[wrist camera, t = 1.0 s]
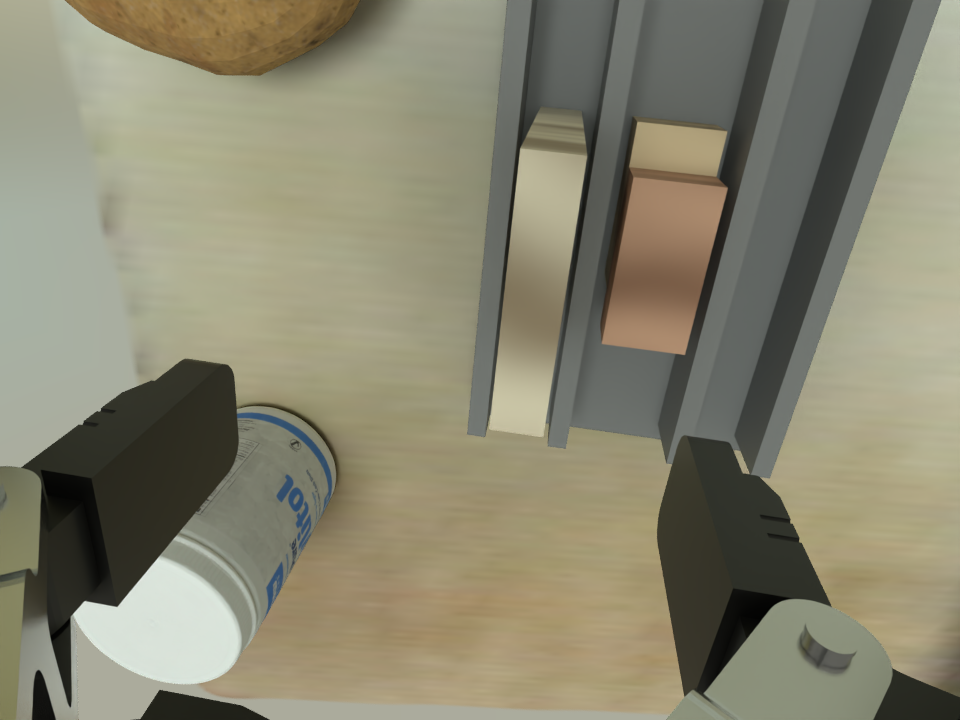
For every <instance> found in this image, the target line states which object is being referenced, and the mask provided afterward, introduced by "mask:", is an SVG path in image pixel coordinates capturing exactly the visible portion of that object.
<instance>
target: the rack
mask: <svg viewBox="0 0 960 720" xmlns="http://www.w3.org/2000/svg"><path fill="white" fill-rule="evenodd" d="M940 3H941V0H507V10H506V21H505V32H504V43H503V54H502V64H501V75H500V86H499V97H498V108H497V118H496V129H495V140H494V151H493V162H492V173H491V183H490V194H489V205H488V216H487V227H486V237H485V248H484V259H483V270H482V281H481V291H480V302H479V313H478V324H477V335H476V345H475V356H474V367H473V378H472V389H471V399H470V410H469V421H468V432H467V434H468V435H475V436H482V437H485V435H486V430H487V426H488V421H489V417H490V415H491V409H492V400H493V391H494V382H495V373H496V364H497V355H498V345H499V336H500V327H501V318H502V309H503V300H504V291H505V282H506V273H507V264H508V255H509V246H510V237H511V228H512V219H513V210H514V201H515V192H516V183H517V174H518V165H519V155H520V148H521V146H522V144H523V142H524V140H525V138H526V136H527V134H528V132H529V130H530V128H531V126H532V124H533V122H534V120H535V118H536V116H537V113H538V111H539V109H540V107H551V108H560V109H570V110H579V111H582V118H583V126H584V134H585V142H586V150H587V161H586V167H585V174H584V180H583V186H582V193H581V199H580V206H579V212H578V218H577V225H576V231H575V238H574V244H573V250H572V257H571V263H570V269H569V276H568V282H567V289H566V295H565V301H564V308H563V314H562V321H561V327H560V333H559V340H558V346H557V352H556V359H555V365H554V372H553V378H552V384H551V391H550V397H549V404H548V410H547V416H546V423H549V432H548V446H550V447H557V448H564V449H566V444H567V438H568V433H569V427H570V426H571V427H578V428H585V429H592V430H599V431H606V432H613V433H620V434H627V435H634V436H641V437H648V438H655V439H661V441H662V446H663V450H664V455H665V459H666V463H667V464H672V463H673V460H674V456H675V453H676V449H677V446H678V443H679V441H680V439H681V437H682V436H684V435H686V436H693V437H700V438H706V439H713V440H719V441H726V442H729V443H730V444H731V446H732V449H733V450H739V451H741V453H742V456H743V458H744V461H745V463H746V465H747V468H748V470H749V473H750V475H756V476H759V477H764V478H770V476H771V473H772V470H773V468H774V465H775V462H776V459H777V456H778V454H779V451H780V448H781V445H782V443H783V440H784V437H785V434H786V431H787V429H788V426H789V423H790V420H791V417H792V415H793V412H794V409H795V406H796V404H797V401H798V398H799V395H800V392H801V390H802V387H803V384H804V381H805V379H806V376H807V373H808V370H809V367H810V365H811V362H812V359H813V356H814V353H815V351H816V348H817V345H818V342H819V340H820V337H821V334H822V331H823V328H824V326H825V323H826V320H827V317H828V314H829V312H830V309H831V306H832V303H833V301H834V298H835V295H836V292H837V289H838V287H839V284H840V281H841V278H842V275H843V273H844V270H845V267H846V264H847V262H848V259H849V256H850V253H851V250H852V248H853V245H854V242H855V239H856V237H857V234H858V231H859V228H860V225H861V223H862V220H863V217H864V214H865V211H866V209H867V206H868V203H869V200H870V198H871V195H872V192H873V189H874V186H875V184H876V181H877V178H878V175H879V172H880V170H881V167H882V164H883V161H884V159H885V156H886V153H887V150H888V147H889V145H890V142H891V139H892V136H893V133H894V131H895V128H896V125H897V122H898V120H899V117H900V114H901V111H902V108H903V106H904V103H905V100H906V97H907V95H908V92H909V89H910V86H911V83H912V81H913V78H914V75H915V72H916V69H917V67H918V64H919V61H920V58H921V56H922V53H923V50H924V47H925V44H926V42H927V39H928V36H929V33H930V30H931V28H932V25H933V22H934V19H935V17H936V14H937V11H938V8H939V5H940ZM633 116H636V117H646V118H655V119H665V120H674V121H684V122H693V123H703V124H712V125H718V126H719V127H721V128H723V129H724V130H726V131H728V132H727V136H726V140H725V144H724V148H723V152H722V156H721V160H720V164H719V168H718V172H717V176H716V177H717V178H718V179H719V180H720V181H721V182H722V183H723V184H724V185H726V186H727V187H728V189H727V193H726V197H725V201H724V205H723V209H722V213H721V217H720V221H719V224H718V228H717V232H716V236H715V240H714V244H713V248H712V252H711V255H710V259H709V263H708V267H707V271H706V275H705V279H704V283H703V286H702V290H701V294H700V298H699V302H698V306H697V310H696V314H695V318H694V321H693V325H692V329H691V333H690V337H689V341H688V345H687V349H686V352H685V355H682V354H674V353H667V352H659V351H652V350H644V349H637V348H629V347H622V346H614V345H606V344H602V340H601V330H600V321H601V315H602V310H603V305H604V299H605V294H606V289H607V287H606V280H605V267H606V261H607V256H608V250H609V245H610V239H611V234H612V228H613V223H614V218H615V212H616V207H617V201H618V196H619V190H620V185H621V179H622V174H623V168H624V163H625V157H626V152H627V146H628V141H629V135H630V130H631V124H632V119H633Z"/></svg>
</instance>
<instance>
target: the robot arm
mask: <svg viewBox="0 0 960 720" xmlns="http://www.w3.org/2000/svg"><path fill="white" fill-rule="evenodd" d="M238 445H239V434H238V421H237V408H236V394H235V381H234V374H233V371H232V369H231V368H230V367H229V366H228V365H226V364H219V363H212V362H206V361H199V360H193V359H184V360H182V361H180V362H179V363H178V364H176V365H175V366H174V367H172V368H171V369H170V370H169V371H167V372H166V373H165V374H163V375H162V376H161V377H159V378H158V379H157V380H156V381H149V382H147V383H144V384H142V385H139V386H137V387H135V388H132V389H130V390H127V391H125V392H122V393H121V394H120V395H118V396H117V397H116V398H114V399H113V400H111V401H110V402H109V403H107V404H106V405H105V406H103V407H102V408H101V411H100V412H98V411H97V412H95V413H94V414H93V415H91V416H90V417H89V418H87V419H86V420H85V421H84V423H83V425H78V426H76V427H75V428H74V429H72V430H71V431H70V432H68V433H67V434H66V435H65V436H63V437H62V438H61V439H59V440H58V441H56V442H55V443H54V444H52V445H51V446H50V447H48V448H47V449H46V450H44V451H43V452H42V453H40V454H39V455H37V456H36V457H35V458H33V459H32V460H31V461H29V462H28V463H27V464H25V465H24V466H23V467H21V468H20V467H10V466H1V467H0V720H79V719H78V678H77V641H76V625H75V620H74V616H73V614H74V612H75V611H76V610H77V609H78V608H79V607H80V606H81V605H82V604H83V602H84V601H87V602H92V603H97V604H103V605H108V606H114V607H118V606H119V604H120V603H121V602H122V601H123V600H124V598H125V597H126V596H127V595H128V594H129V592H130V591H131V590H132V589H133V588H134V586H135V585H136V584H137V583H138V581H139V580H140V579H141V578H142V577H143V575H144V574H145V573H146V572H147V571H148V569H149V568H150V567H151V566H152V565H153V563H154V562H155V561H156V560H157V559H158V557H159V556H160V555H161V554H162V553H163V551H164V550H165V549H166V548H167V547H168V545H169V544H170V543H171V542H172V541H173V539H174V538H175V537H176V536H177V534H178V533H179V532H180V531H181V530H182V528H183V527H184V526H185V525H186V524H187V522H188V521H189V520H190V519H191V518H192V516H193V515H194V514H195V513H196V512H197V510H198V509H199V508H200V507H201V506H202V504H203V503H204V502H205V501H206V500H207V498H208V497H209V496H210V495H211V494H212V492H213V491H214V490H215V489H216V487H217V486H218V485H219V484H220V483H221V481H222V480H223V479H224V478H225V477H226V475H227V474H228V473H229V472H230V470H231V468H232V466H233V464H234V462H235V459H236V456H237V451H238ZM790 520H791V519H790V517H789V515H788V513H787V511H786V509H785V507H784V504H783V502H782V500H781V498H780V497H779V496H778V495H777V494H776V493H775V492H774V491H773V490H772V489H771V488H770V487H769V486H768V485H767V484H766V483H765V482H764V481H763V480H762V479H761V478H760V477H759V476H756V475H750V474H743V473H742V471H741V468H740V466H739V463H738V461H737V459H736V456H735V454H734V451H733V449H732V446H731V444H730V443H729V442H726V441H719V440H713V439H706V438H700V437H693V436H686V435H684V436H682V437H681V439H680V441H679V443H678V446H677V449H676V453H675V456H674V460H673V463H672V467H671V471H670V474H669V478H668V482H667V485H666V489H665V492H664V496H663V500H662V503H661V507H660V512H659V517H658V527H657V541H658V548H659V554H660V560H661V566H662V571H663V577H664V583H665V588H666V594H667V600H668V606H669V611H670V617H671V623H672V628H673V634H674V640H675V646H676V651H677V657H678V663H679V668H680V674H681V680H682V686H683V691H684V699H683V700H682V701H681V702H680V703H679V705H678V706H677V707H676V708H675V709H674V711H673V712H672V713H671V714H670V716H669V717H668V718H667V719H666V720H960V697H958V696H955V695H953V694H950V693H948V692H945V691H943V690H940V689H938V688H936V687H933V686H931V685H928V684H926V683H923V682H921V681H919V680H916V679H914V678H911V677H909V676H907V675H905V674H902V673H900V672H898V671H896V670H894V669H893V668H892V666H891V662H890V659H889V657H888V655H887V653H886V651H885V650H884V648H883V647H882V645H881V644H880V643H879V641H878V640H877V639H876V638H875V637H874V636H873V635H872V634H871V633H870V632H869V631H868V630H867V629H866V628H865V627H864V626H862V625H861V624H860V623H858V622H857V621H856V620H854V619H853V618H851V617H850V616H848V615H846V614H845V613H843V612H841V611H839V610H837V609H835V608H832V606H831V604H830V602H829V600H828V598H827V595H826V593H825V591H824V589H823V587H822V585H821V583H820V581H819V579H818V576H817V574H816V572H815V570H814V568H813V566H812V564H811V562H810V559H809V557H808V555H807V553H806V551H805V549H804V547H803V545H802V543H799V536H798V534H797V532H796V530H795V528H794V526H793V524H790ZM136 720H269V719H267V718H265V717H263V716H261V715H259V714H257V713H255V712H253V711H251V710H249V709H247V708H246V707H243V706H241V705H236V704H231V703H225V702H220V701H214V700H210V699H205V698H199V697H194V696H189V695H184V694H179V693H173V692H168V691H163V690H159V692H158V693H157V695H156V696H155V698H154V699H153V701H152V702H151V704H150V705H149V707H148V708H147V710H146V711H145V713H144V714H143V716H142V717H141V719H136Z"/></svg>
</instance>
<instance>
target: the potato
mask: <svg viewBox="0 0 960 720" xmlns="http://www.w3.org/2000/svg"><path fill="white" fill-rule="evenodd" d="M65 1H66V2H67V3H69V4H70V5H71V6H72V7H73V8H74V9H76V10H77V11H78V12H79V13H80V14H81V15H82V16H84V17H85V18H86V19H87V20H88V21H89V22H91V23H92V24H94V25H96V26H97V27H99V28H101V29H102V30H104V31H106V32H108V33H110V34H112V35H114V36H116V37H118V38H121V39H123V40H125V41H127V42H129V43H131V44H134V45H136V46H138V47H140V48H142V49H144V50H147V51H151V52H154V53H157V54H160V55H163V56H166V57H169V58H173V59H176V60H179V61H182V62H185V63H187V64H190V65H193V66H195V67H198V68H201V69H203V70H206V71H209V72H211V73H214V74H217V75H262V74H264V73H266V72H268V71H270V70H272V69H274V68H276V67H278V66H280V65H282V64H284V63H286V62H288V61H290V60H292V59H294V58H296V57H298V56H300V55H302V54H304V53H306V52H308V51H310V50H311V49H313V48H315V47H317V46H319V45H320V44H322V43H323V42H324V41H325V40H327V39H328V38H329V37H330V36H332V35H333V34H334V33H335V32H337V31H338V30H339V29H340V28H342V27H343V26H344V25H345V24H347V23H348V21H349V20H350V18H351V17H352V15H353V13H354V11H355V9H356V7H357V5H358V3H359V2H360V0H65Z"/></svg>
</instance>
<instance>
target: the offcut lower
mask: <svg viewBox="0 0 960 720" xmlns="http://www.w3.org/2000/svg"><path fill="white" fill-rule="evenodd" d="M727 132H728V131H726V130H724V129H723V128H721V127H719V126H718V125H712V124H703V123H693V122H684V121H674V120H665V119H655V118H646V117H636V116H633V119H632V124H631V130H630V135H629V141H628V146H627V152H626V157H625V163H624V168H623V174H622V179H621V185H620V190H619V196H618V201H617V207H616V212H615V218H614V223H613V228H612V234H611V239H610V245H609V250H608V256H607V261H606V267H605V280H606V287H607V283H608V278H609V273H610V267H611V262H612V256H613V251H614V246H615V240H616V235H617V230H618V224H619V219H620V214H621V208H622V203H623V197H624V192H625V187H626V181H627V176H628V171H629V167H633V168H642V169H651V170H660V171H669V172H678V173H687V174H696V175H705V176H714V177H716V176H717V172H718V168H719V164H720V160H721V156H722V152H723V148H724V144H725V140H726V136H727Z"/></svg>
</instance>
